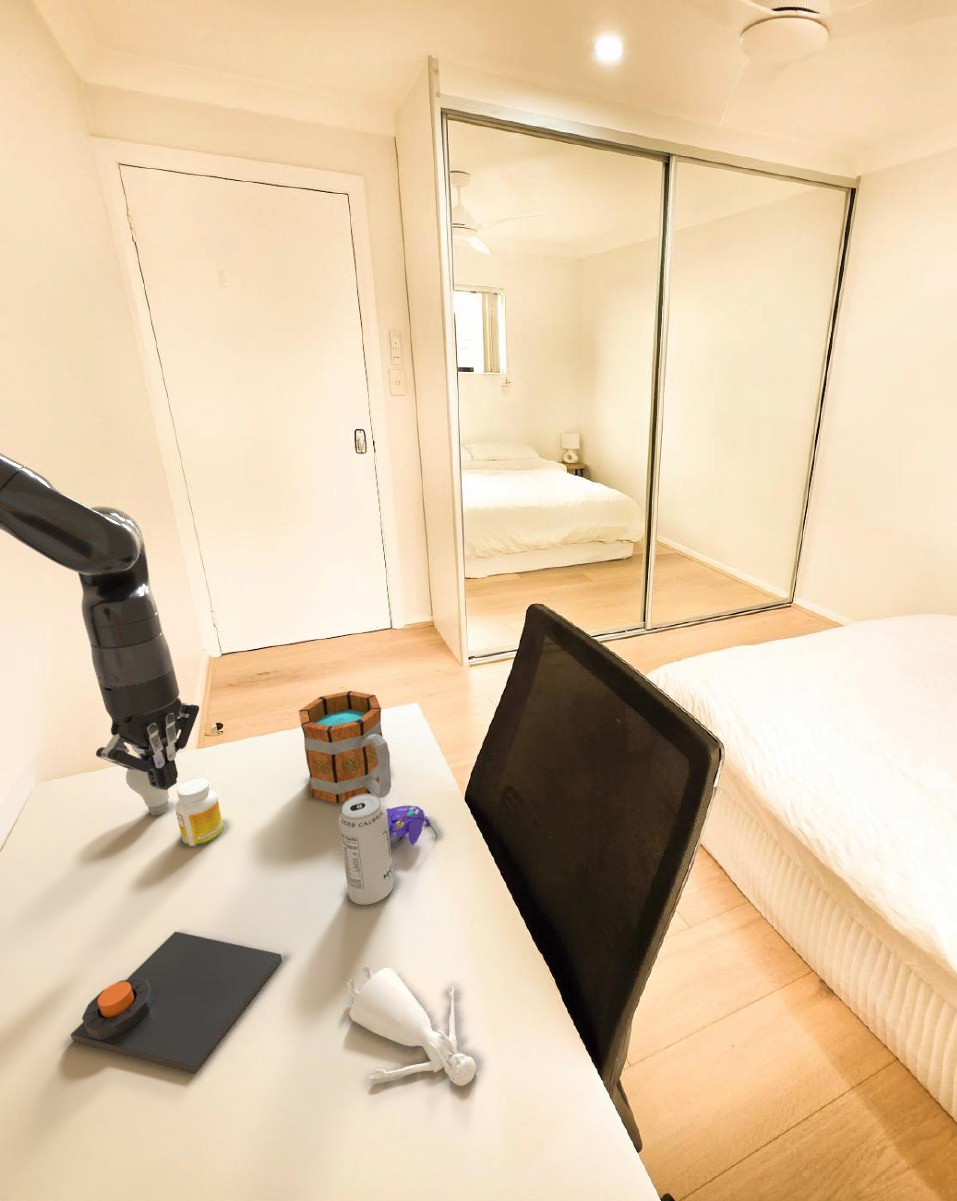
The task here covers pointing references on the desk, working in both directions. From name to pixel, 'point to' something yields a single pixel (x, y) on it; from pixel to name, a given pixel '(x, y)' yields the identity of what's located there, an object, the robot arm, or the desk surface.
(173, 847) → the desk surface
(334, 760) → the mug
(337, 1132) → the desk surface
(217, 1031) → the scale
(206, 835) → the supplement bottle
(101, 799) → the desk surface
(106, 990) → the button
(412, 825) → the game controller
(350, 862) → the energy drink can
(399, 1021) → the woman figurine
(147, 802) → the lightbulb
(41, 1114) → the desk surface
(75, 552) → the robot arm
